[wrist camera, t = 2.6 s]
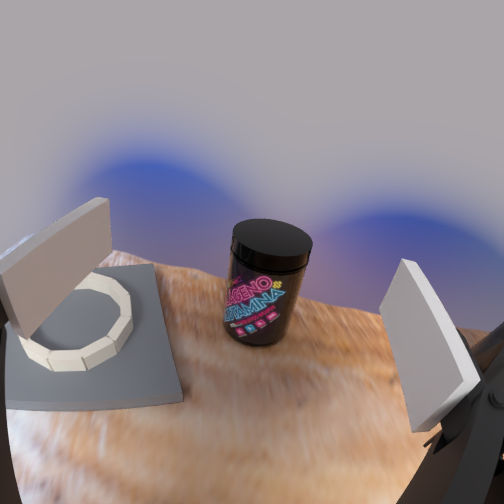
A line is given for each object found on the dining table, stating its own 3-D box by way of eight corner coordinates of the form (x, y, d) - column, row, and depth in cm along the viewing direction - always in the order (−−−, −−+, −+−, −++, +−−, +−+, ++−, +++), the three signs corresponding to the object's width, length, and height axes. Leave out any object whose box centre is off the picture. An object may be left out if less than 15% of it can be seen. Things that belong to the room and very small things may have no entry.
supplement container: (215, 308, 31) (223, 218, 25) (272, 302, 33) (291, 218, 28) (231, 355, 25) (246, 258, 20) (297, 344, 27) (327, 254, 22)
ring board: (153, 273, 34) (152, 252, 33) (183, 401, 20) (181, 381, 18) (22, 283, 27) (16, 263, 26) (-10, 406, 13) (-27, 386, 11)
